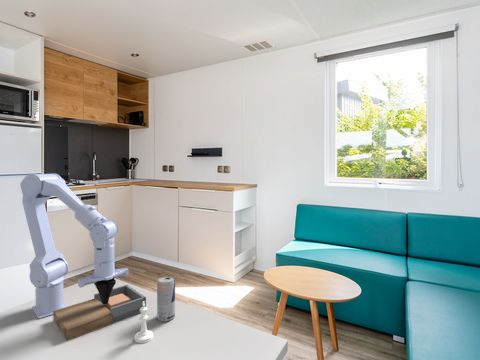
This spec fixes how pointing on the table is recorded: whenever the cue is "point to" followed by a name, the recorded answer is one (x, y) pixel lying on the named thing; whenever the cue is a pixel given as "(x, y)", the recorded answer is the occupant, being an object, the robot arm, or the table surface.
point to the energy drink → (166, 298)
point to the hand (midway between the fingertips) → (104, 302)
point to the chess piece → (143, 328)
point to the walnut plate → (82, 318)
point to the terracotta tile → (116, 301)
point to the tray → (126, 308)
